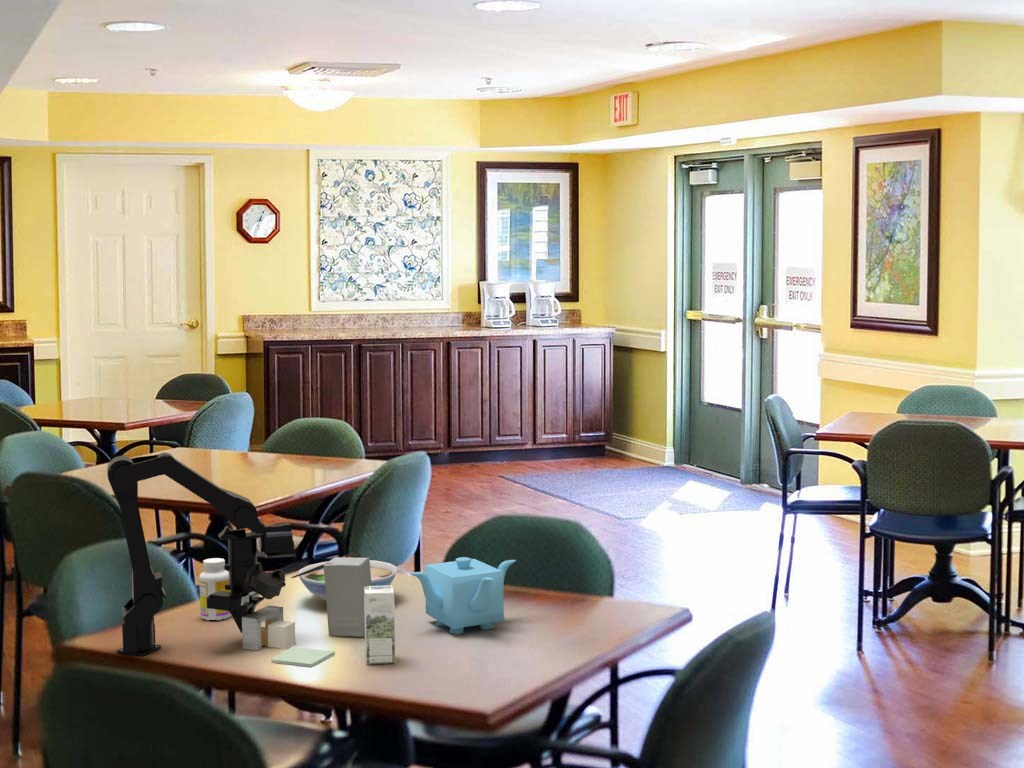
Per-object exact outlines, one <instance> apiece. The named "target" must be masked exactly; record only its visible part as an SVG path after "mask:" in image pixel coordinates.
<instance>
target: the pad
mask: <svg viewBox="0 0 1024 768" xmlns="http://www.w3.org/2000/svg"><path fill="white" fill-rule="evenodd" d="M330 656H331V657H332V656H335V651H333V650H325V649H324V650H323V649H315V648H308V647H299V646H294V647H293V648H291V649H288V650H286V651H284V652H283V653H280V654H279V655H277V656H275V657H273V658H272V659H271V663H274V664H275V663H276V664H283V665H288V666H289V665H291V666H299V667H306V666H307V667H308V668H312V666H313V667H315V666H316V665H318V664H320V663H321V661H322V662H324V661H325V660H327V659H329V658H330ZM323 660H324V661H323ZM317 663H318V664H317Z"/></svg>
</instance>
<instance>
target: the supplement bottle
mask: <svg viewBox="0 0 1024 768" xmlns="http://www.w3.org/2000/svg"><path fill="white" fill-rule="evenodd" d="M225 565H226V560H225V559H224V558H220V557H213V558H212V557H211V558H206V559H204V560H202V566H203V568H204V569H203V571H202V572H201V573H199V576H198V577H199V578H198V579H199V581H198V583H199V604H200V605H199V606H200V608H199V610H200V617H201V619H202V620H204V619H205V621H209V620H217V621H223V620H222V619H224V620H226V619H229V618H230V617H232V615H231V614H230V612H229V611H225V610H217V609H208V608H206V598H207V597H208V596H209V595H210V594H212V593H215V592H217V591H227V592H231V590H225V585H226V584H228V583H229V570H225Z"/></svg>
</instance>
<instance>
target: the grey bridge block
mask: <svg viewBox="0 0 1024 768" xmlns="http://www.w3.org/2000/svg"><path fill="white" fill-rule="evenodd" d="M278 620H279V621H284V606H278V605H270V604H269V605H267V606H264V607H262V608H260V609H257V610H254V612H253V613H250V614H248V615H246V616H244V617H242V633H241V634H242V636H241V637H242V649H243V650H250V651H251V650H252V651H259V650H262V649H261V648H262V646H263V645H262V643H261V627H262V623H265V626H264V627H268V625H269V624H271V623H273V622H276V621H278Z"/></svg>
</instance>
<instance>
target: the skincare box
mask: <svg viewBox="0 0 1024 768" xmlns="http://www.w3.org/2000/svg"><path fill="white" fill-rule="evenodd" d="M370 560H371V559H370V557H357V558H343V556H341V557H339V556H335V557H333V558H332V559H330V560H329V562H328V561H326V562H327V563H326V564H324V576H325V590H326V600H325V601H326V614H327V629H328V636H329V635H330V636H331V637H332V636H333V637H357V638H358V637H359V638H361V637H362V638H365V616H364V587H365V586H372V585H371V572H370Z"/></svg>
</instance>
